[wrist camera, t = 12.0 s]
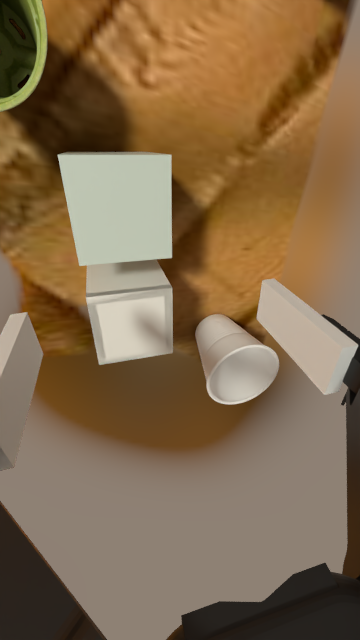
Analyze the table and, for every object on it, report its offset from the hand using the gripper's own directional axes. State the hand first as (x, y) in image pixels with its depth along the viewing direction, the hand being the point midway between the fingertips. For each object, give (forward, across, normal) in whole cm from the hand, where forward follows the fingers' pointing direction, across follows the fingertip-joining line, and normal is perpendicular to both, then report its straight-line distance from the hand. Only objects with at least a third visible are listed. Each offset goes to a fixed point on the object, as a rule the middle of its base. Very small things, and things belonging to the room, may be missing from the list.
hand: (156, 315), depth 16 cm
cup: (+20, +11, -17) cm, 29 cm away
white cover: (+20, -1, -8) cm, 21 cm away
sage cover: (+20, -1, +3) cm, 20 cm away
